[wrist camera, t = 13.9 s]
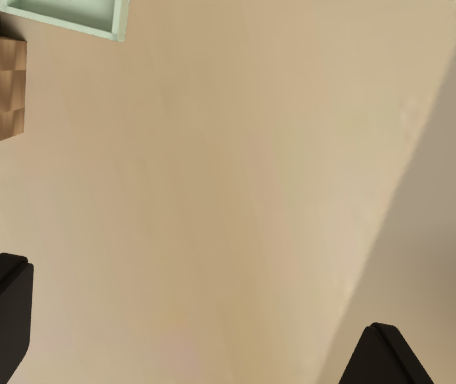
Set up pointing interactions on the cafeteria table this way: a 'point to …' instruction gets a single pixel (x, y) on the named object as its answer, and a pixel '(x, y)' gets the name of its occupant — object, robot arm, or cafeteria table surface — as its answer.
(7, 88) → the block
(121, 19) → the tray
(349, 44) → the cafeteria table surface
